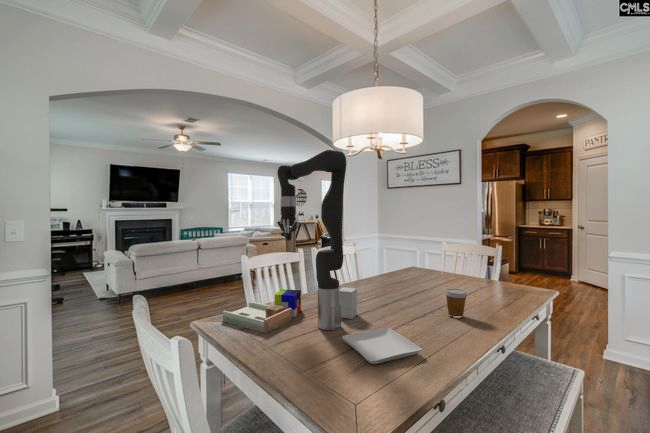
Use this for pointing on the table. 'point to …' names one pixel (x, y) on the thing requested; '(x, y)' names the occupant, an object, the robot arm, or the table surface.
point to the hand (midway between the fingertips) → (288, 240)
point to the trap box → (257, 317)
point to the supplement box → (348, 302)
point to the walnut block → (274, 310)
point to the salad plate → (381, 345)
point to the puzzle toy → (289, 300)
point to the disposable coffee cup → (455, 301)
